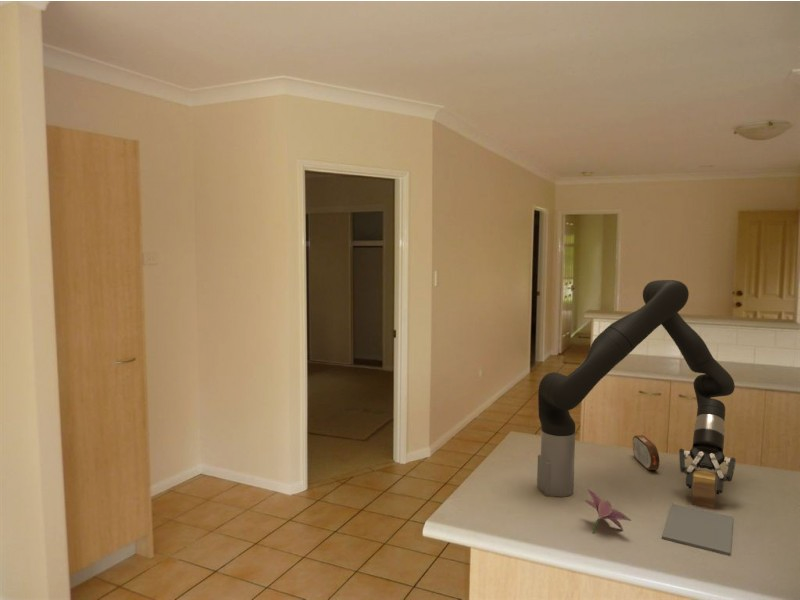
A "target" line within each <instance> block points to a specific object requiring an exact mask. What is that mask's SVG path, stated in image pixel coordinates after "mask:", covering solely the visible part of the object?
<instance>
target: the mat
mask: <svg viewBox="0 0 800 600" xmlns="http://www.w3.org/2000/svg"><path fill="white" fill-rule="evenodd" d="M733 522H734V516H732V515H728V514H727V515H726V514H723V513H719V512H718V513H717V512H714V511H708V510H704V509H701V508H700V509H699V508H695V507H691V506H690V507H689V506H685V505H681V504H678V503H677V504H675V503H671V507H670V509H669V512H668V516H667V519H666V522H665V525H664V528H663V531H662V534H661V539H662V540H665V541H670V542H674V543H678V544H683V545H685V546H686V545H687V546H691V547H695V548H698V549H702V550H707V551H709V552H715V553H718V554H722V555H727V556H731V548H732V536H733V535H732V534H733Z"/></svg>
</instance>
